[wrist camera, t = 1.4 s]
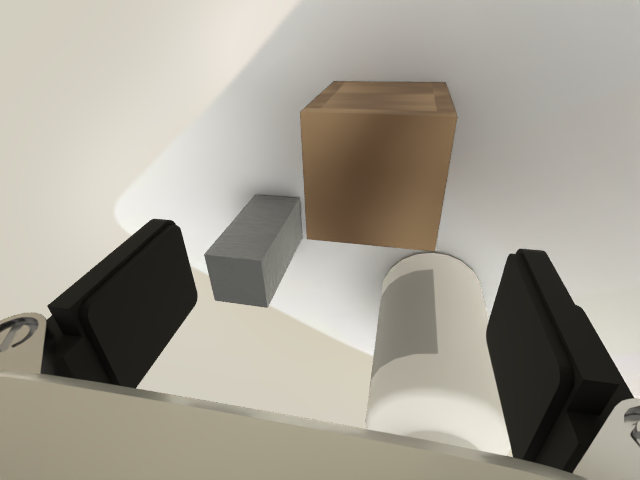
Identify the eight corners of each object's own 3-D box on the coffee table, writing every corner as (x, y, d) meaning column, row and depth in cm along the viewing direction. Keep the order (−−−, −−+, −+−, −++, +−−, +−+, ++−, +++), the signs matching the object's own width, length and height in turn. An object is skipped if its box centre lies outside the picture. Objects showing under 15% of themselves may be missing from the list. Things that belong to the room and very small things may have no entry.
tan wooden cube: (445, 82, 20) (457, 116, 14) (430, 186, 23) (434, 251, 17) (333, 81, 21) (300, 111, 15) (334, 180, 24) (306, 238, 18)
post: (299, 197, 25) (261, 261, 19) (302, 237, 27) (267, 307, 21) (255, 194, 26) (204, 254, 20) (260, 233, 27) (214, 300, 21)
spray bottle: (381, 249, 26) (332, 576, 11) (486, 251, 24) (594, 641, 9) (383, 321, 29) (348, 643, 15) (475, 327, 28) (541, 699, 13)
